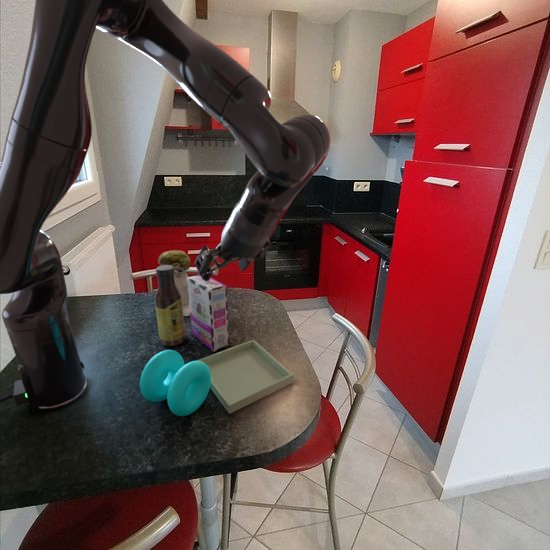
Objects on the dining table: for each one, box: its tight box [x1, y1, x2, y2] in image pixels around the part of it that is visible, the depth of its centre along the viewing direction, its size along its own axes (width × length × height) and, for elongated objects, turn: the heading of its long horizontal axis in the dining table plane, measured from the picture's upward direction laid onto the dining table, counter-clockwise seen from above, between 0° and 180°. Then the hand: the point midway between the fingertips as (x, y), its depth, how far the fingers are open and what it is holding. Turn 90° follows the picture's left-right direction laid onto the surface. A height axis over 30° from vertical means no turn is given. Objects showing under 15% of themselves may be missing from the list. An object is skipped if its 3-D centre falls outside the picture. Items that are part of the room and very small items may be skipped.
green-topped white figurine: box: [157, 249, 191, 317], centre depth 95 cm, size 12×13×18 cm
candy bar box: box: [187, 274, 230, 353], centre depth 80 cm, size 11×5×16 cm, turn 42°
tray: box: [196, 339, 295, 415], centre depth 70 cm, size 15×16×2 cm
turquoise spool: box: [139, 349, 211, 417], centre depth 61 cm, size 10×10×10 cm
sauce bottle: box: [154, 265, 186, 347], centre depth 79 cm, size 7×6×20 cm
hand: (223, 272), depth 66 cm, fingers open, 8 cm apart
